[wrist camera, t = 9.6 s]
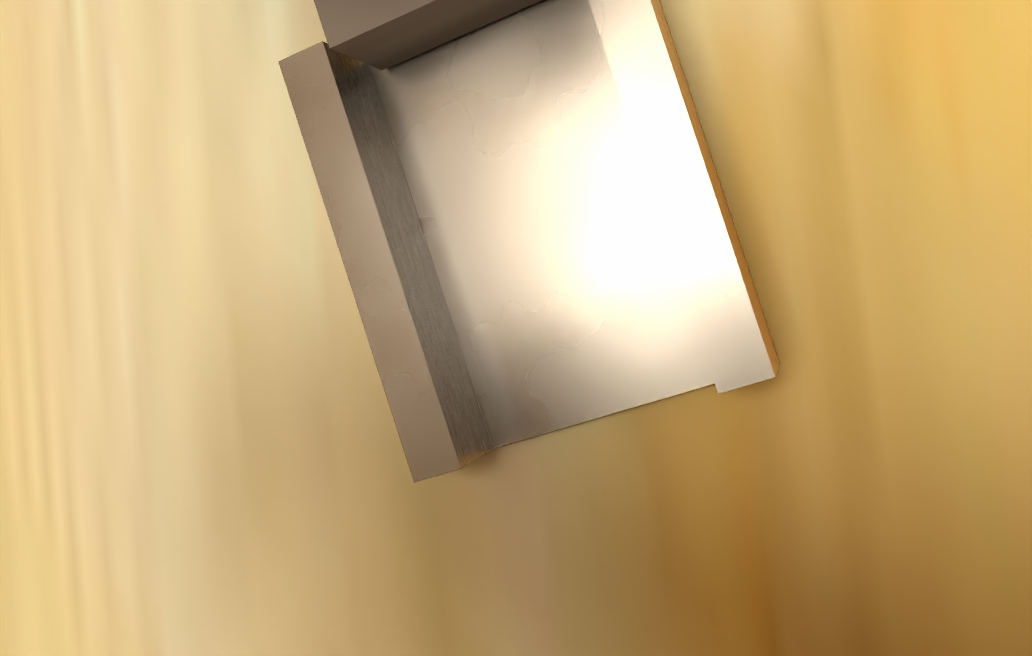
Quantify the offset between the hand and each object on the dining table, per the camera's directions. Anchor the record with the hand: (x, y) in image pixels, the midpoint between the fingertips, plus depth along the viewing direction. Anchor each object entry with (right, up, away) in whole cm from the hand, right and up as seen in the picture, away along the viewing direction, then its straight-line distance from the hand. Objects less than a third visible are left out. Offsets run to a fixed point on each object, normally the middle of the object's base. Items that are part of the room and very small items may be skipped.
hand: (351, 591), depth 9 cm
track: (+2, +5, +11) cm, 12 cm away
